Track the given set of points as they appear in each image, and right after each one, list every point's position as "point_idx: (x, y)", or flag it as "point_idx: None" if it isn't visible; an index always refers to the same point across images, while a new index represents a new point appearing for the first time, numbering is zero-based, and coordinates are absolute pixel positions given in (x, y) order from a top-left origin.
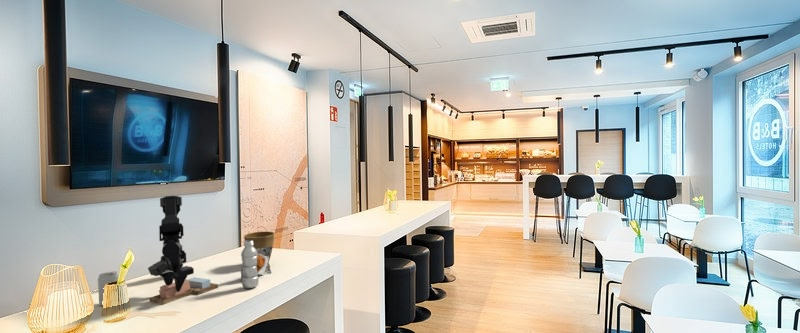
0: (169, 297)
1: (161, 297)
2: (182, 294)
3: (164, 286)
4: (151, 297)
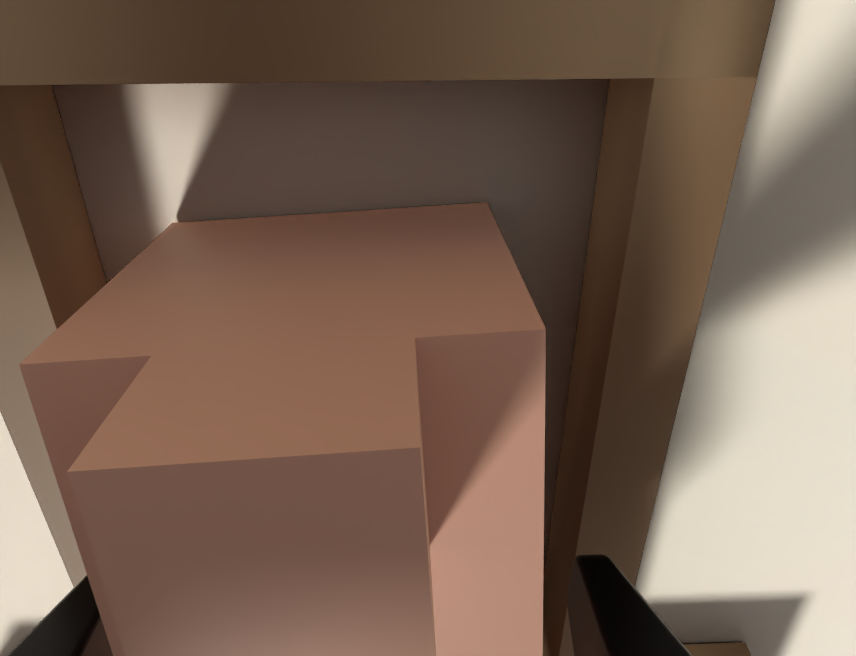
0: (32, 293)
1: (443, 227)
2: (73, 558)
3: (186, 588)
4: (718, 2)
